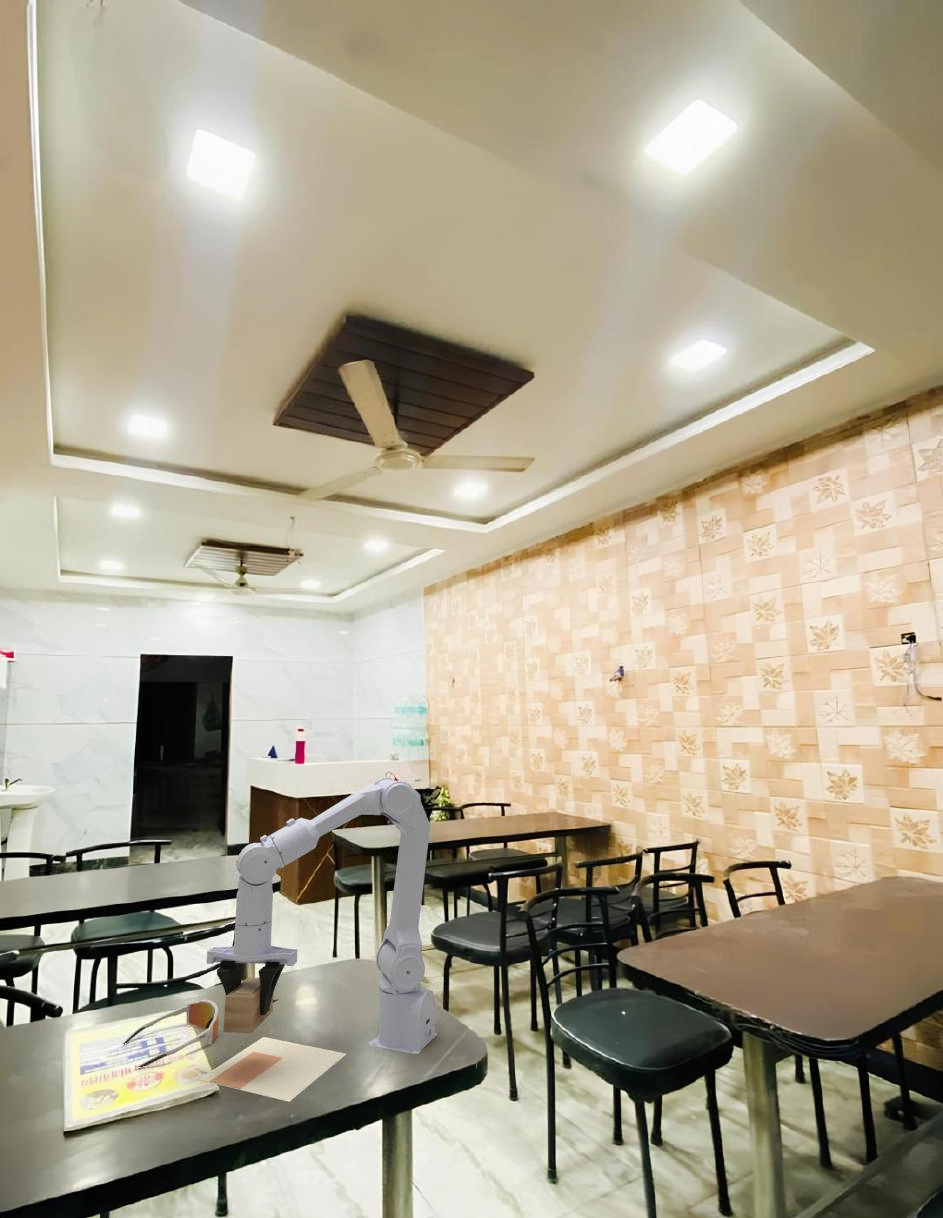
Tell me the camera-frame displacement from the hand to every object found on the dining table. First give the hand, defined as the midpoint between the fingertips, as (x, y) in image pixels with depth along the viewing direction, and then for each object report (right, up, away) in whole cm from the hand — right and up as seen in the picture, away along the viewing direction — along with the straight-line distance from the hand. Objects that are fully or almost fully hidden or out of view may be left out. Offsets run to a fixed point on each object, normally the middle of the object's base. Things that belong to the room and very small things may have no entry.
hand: (249, 1012), depth 104 cm
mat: (+4, -9, -1) cm, 10 cm away
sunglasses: (-16, -11, +8) cm, 22 cm away
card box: (0, -1, 0) cm, 1 cm away
